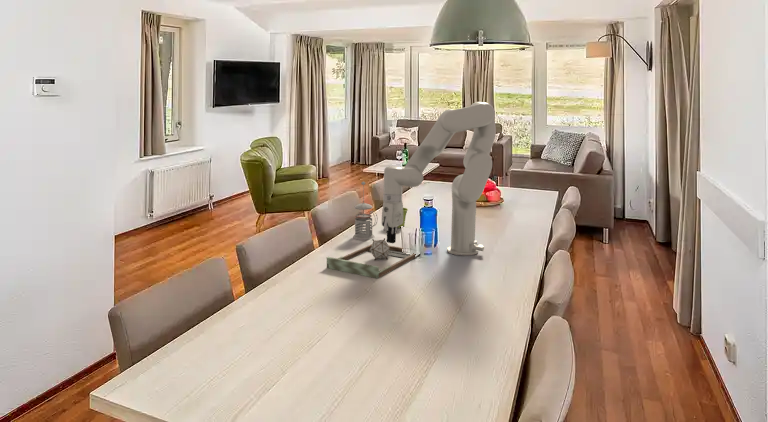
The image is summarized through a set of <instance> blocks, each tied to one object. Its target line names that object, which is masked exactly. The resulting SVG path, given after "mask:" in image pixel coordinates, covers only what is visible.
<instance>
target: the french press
mask: <svg viewBox="0 0 768 422" xmlns="http://www.w3.org/2000/svg"><path fill="white" fill-rule="evenodd" d="M360 185H362V186H363V187H362V193H363V194H362V196H363V198H362V201H363V202H361V203H358V204H356V205H355V206H354V209H355V210H360V211H363V212H362V213H360V214H356V215H355V218H354V233H355V234H354V235H352V238H353V239H355V240H372V239H374V238H375V235H374V234H373V228H374V227H375V226H376V225H377V223H378V221H377V220H378V219H379V217H378V214H377V212H375V211H374V210H372V209H373V205H372V204H369V203H366V202H365V200H364V199H365V197H364V189H365V188H364V187H365V186H364V185H366V182H365V181H362V182H361V184H360ZM367 210H371V211H369V214H368V213H365V211H367ZM372 215H373V216H374V224H373V218H372Z"/></svg>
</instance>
